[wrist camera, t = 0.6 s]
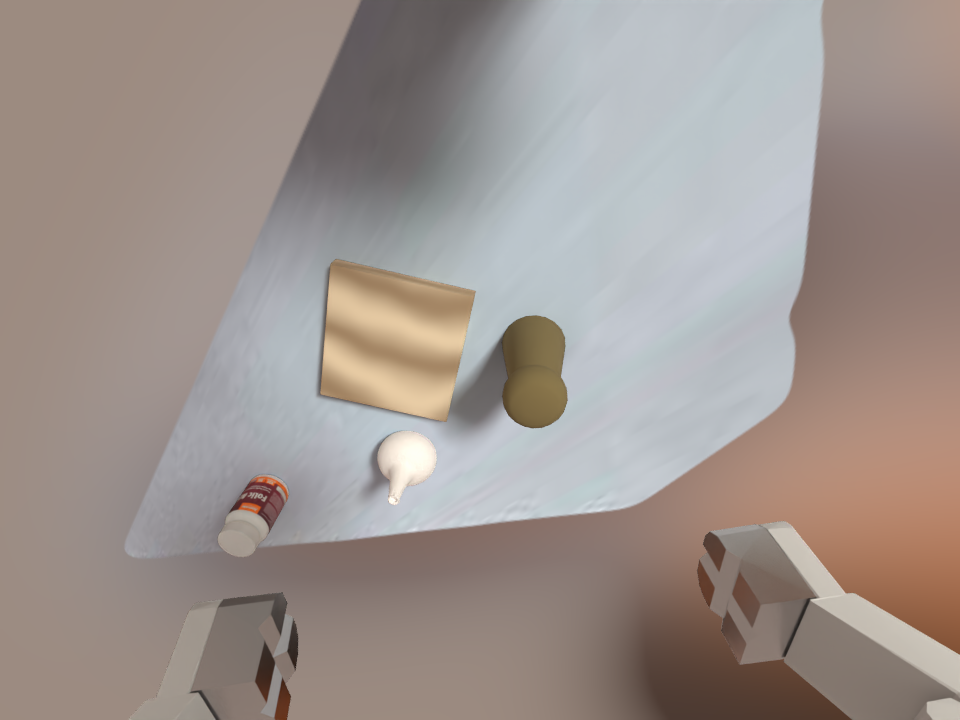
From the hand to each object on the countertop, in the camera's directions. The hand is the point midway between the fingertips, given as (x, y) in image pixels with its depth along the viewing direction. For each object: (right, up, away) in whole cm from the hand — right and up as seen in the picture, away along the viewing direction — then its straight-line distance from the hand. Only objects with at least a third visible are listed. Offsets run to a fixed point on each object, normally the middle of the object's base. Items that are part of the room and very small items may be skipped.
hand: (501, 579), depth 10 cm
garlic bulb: (-8, -5, +48) cm, 49 cm away
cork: (+5, +6, +41) cm, 42 cm away
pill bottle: (-25, -11, +53) cm, 59 cm away
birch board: (-9, +6, +42) cm, 43 cm away
